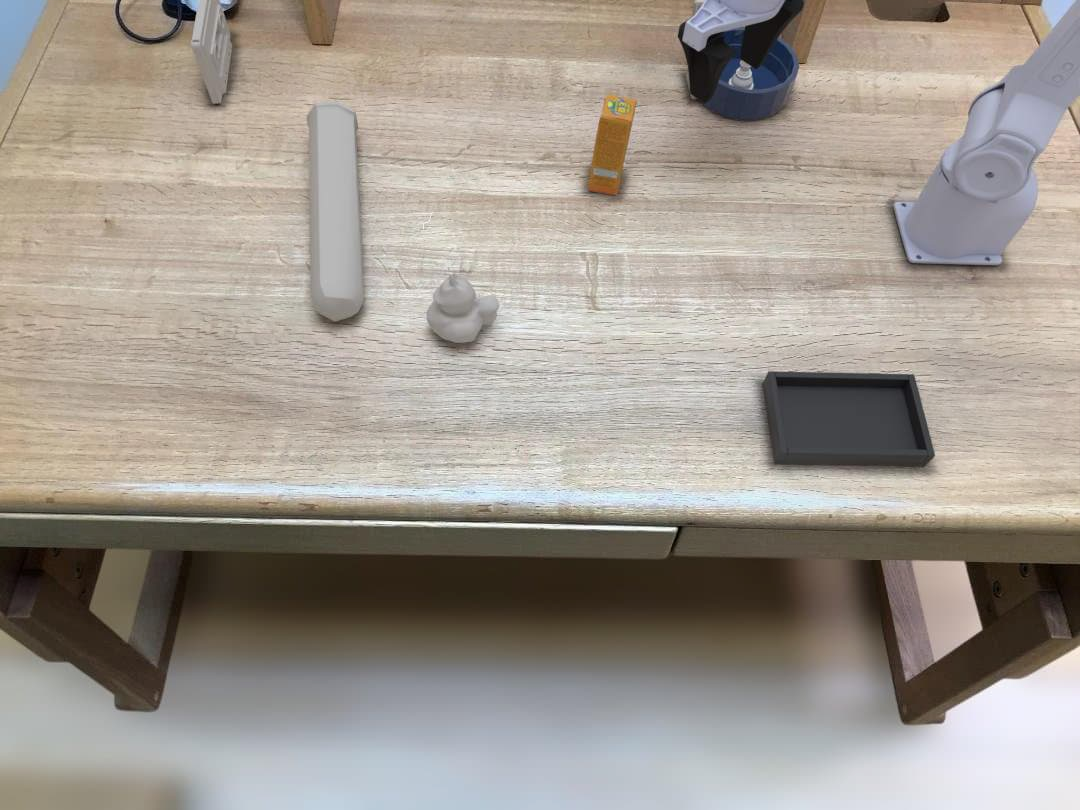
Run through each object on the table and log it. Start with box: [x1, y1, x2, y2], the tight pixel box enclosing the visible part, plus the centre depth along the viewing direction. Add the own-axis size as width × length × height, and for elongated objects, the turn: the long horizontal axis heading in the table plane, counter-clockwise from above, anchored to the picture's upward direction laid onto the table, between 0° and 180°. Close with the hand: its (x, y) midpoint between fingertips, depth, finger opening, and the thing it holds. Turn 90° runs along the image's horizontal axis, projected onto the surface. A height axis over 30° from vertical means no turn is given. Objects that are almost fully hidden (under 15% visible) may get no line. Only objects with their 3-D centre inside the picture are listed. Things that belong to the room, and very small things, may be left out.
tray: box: [762, 370, 936, 467], centre depth 75 cm, size 13×8×2 cm, turn 90°
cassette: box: [190, 0, 233, 105], centre depth 93 cm, size 12×2×8 cm, turn 5°
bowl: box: [701, 26, 800, 122], centre depth 96 cm, size 11×11×4 cm
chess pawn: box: [729, 60, 754, 89], centre depth 95 cm, size 3×3×5 cm
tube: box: [305, 100, 365, 323], centre depth 83 cm, size 5×5×25 cm
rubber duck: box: [426, 272, 500, 344], centre depth 76 cm, size 5×7×8 cm
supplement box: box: [587, 93, 638, 196], centre depth 85 cm, size 3×3×10 cm
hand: (725, 79), depth 84 cm, fingers open, 7 cm apart
